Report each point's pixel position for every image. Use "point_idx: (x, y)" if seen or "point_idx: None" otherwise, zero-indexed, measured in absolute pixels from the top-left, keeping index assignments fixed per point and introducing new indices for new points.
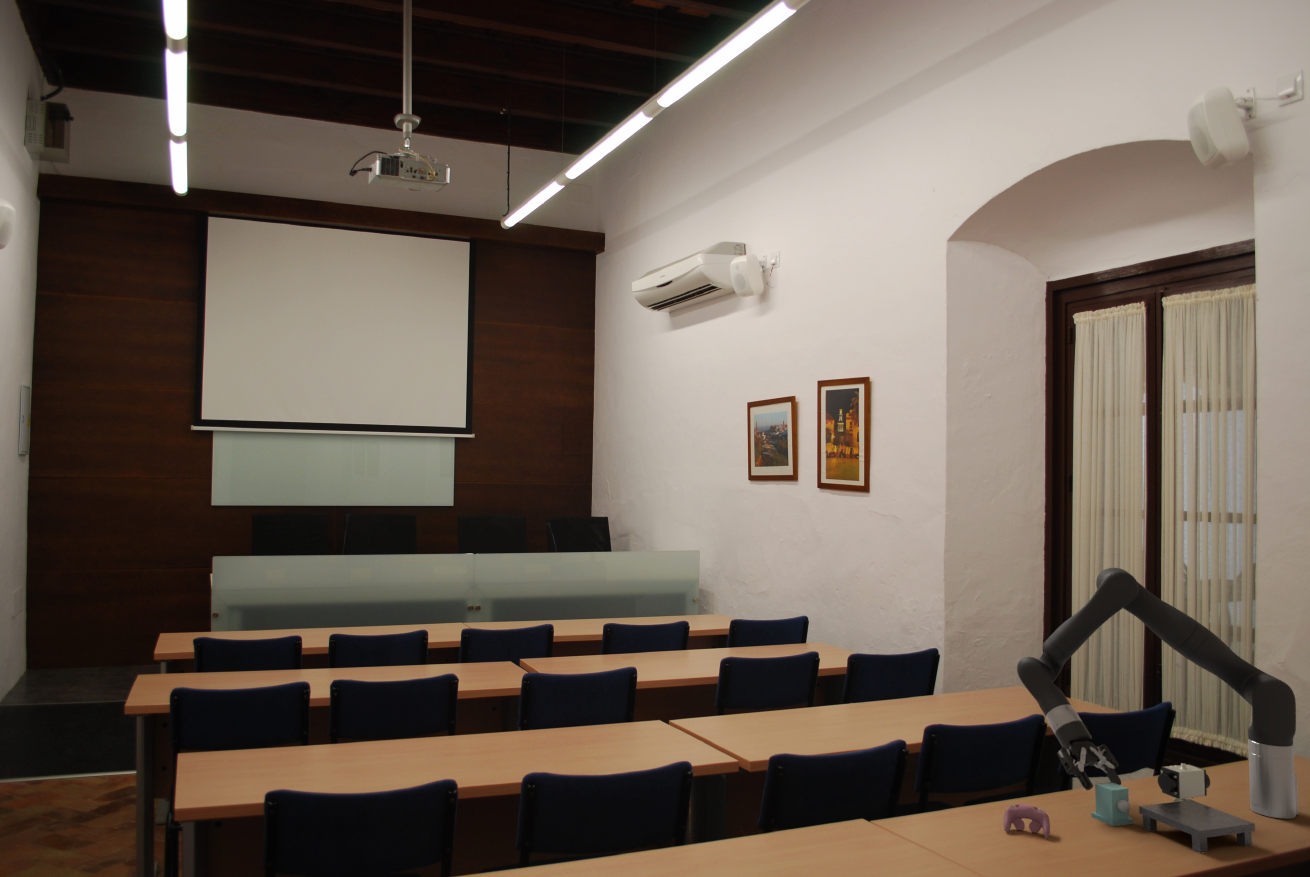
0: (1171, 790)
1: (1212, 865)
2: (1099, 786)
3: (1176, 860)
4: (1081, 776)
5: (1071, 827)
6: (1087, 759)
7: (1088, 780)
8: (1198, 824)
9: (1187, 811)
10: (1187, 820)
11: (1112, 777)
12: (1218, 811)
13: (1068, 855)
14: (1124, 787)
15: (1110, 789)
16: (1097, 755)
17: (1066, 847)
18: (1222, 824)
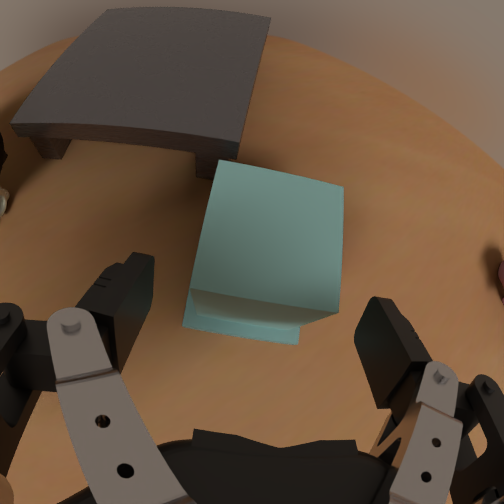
0: (2, 147)
1: (291, 41)
2: (337, 278)
3: (338, 73)
4: (427, 355)
5: (427, 295)
6: (340, 468)
7: (398, 318)
8: (230, 25)
9: (137, 65)
10: (225, 39)
11: (134, 310)
12: (71, 52)
13: (498, 193)
14: (222, 178)
15: (337, 198)
16: (163, 462)
17: (490, 216)
18: (174, 13)
